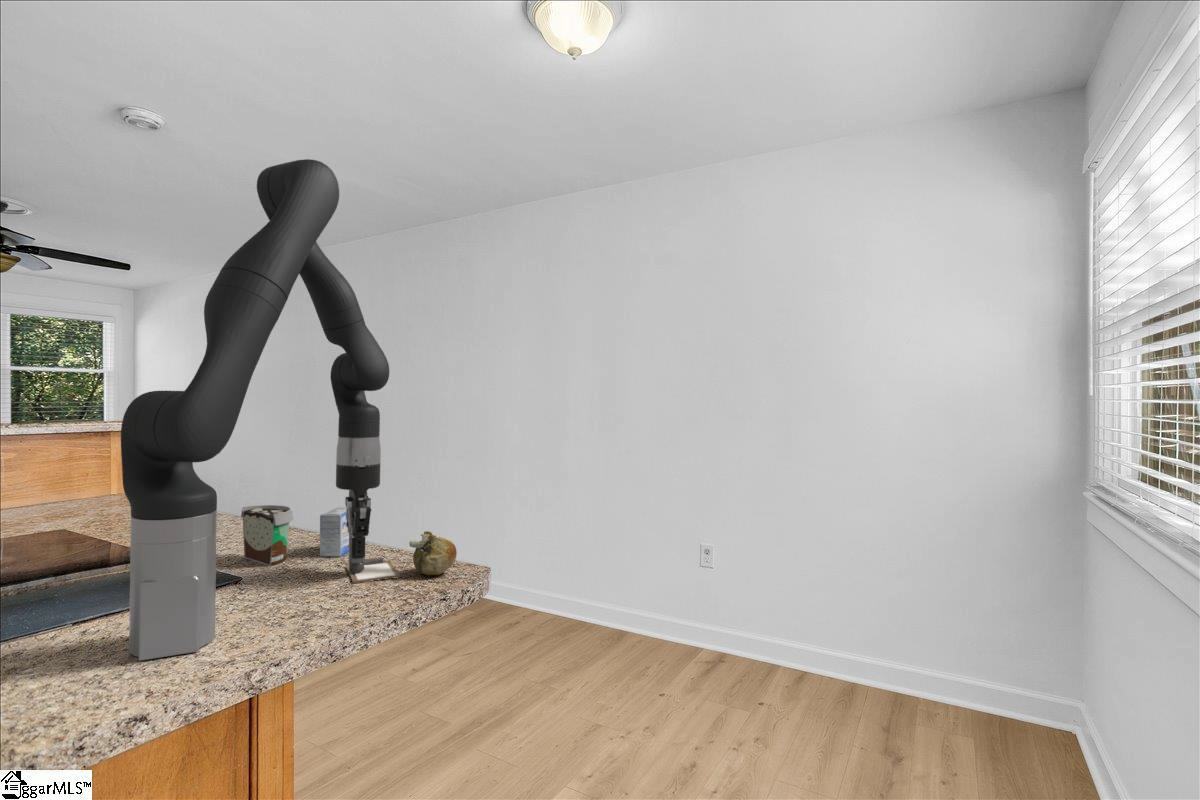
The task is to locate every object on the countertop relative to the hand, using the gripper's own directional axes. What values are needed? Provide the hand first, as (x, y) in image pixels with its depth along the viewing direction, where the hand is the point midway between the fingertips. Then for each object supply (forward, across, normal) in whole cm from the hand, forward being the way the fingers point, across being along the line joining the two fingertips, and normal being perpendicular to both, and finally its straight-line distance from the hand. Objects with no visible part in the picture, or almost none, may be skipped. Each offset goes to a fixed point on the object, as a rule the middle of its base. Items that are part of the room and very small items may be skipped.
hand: (356, 555), depth 110 cm
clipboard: (+4, 0, +3) cm, 4 cm away
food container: (+4, -18, -13) cm, 22 cm away
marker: (+3, 0, 0) cm, 3 cm away
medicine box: (+4, -18, -1) cm, 18 cm away
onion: (+4, +6, +13) cm, 14 cm away
